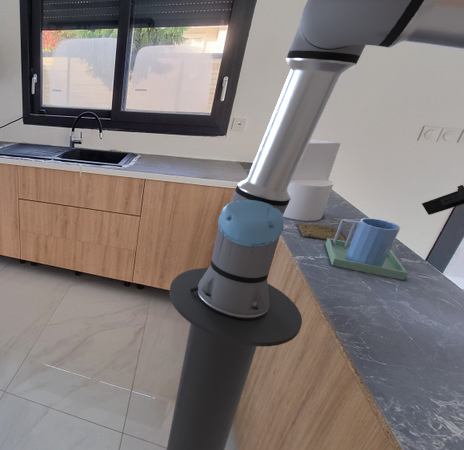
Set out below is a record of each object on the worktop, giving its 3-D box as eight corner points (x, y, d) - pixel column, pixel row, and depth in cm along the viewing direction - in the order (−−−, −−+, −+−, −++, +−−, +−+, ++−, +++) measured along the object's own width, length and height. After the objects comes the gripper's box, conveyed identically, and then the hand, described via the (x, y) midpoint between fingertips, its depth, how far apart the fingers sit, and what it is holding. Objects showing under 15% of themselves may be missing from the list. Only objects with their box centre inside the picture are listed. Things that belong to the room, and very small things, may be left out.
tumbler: (348, 263, 89) (363, 225, 84) (343, 252, 95) (357, 216, 91) (385, 271, 85) (404, 232, 80) (378, 258, 92) (395, 221, 87)
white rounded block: (262, 205, 136) (279, 140, 124) (303, 205, 135) (323, 139, 123) (286, 220, 120) (308, 147, 108) (332, 220, 119) (359, 147, 108)
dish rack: (331, 265, 90) (344, 233, 86) (325, 244, 102) (335, 215, 98) (403, 280, 83) (421, 246, 79) (387, 255, 94) (402, 225, 90)
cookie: (347, 243, 102) (348, 240, 101) (302, 236, 107) (303, 234, 107) (337, 229, 112) (338, 227, 111) (297, 223, 117) (297, 221, 116)
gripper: (588, 176, 45) (416, 227, 65) (687, 165, 50) (499, 216, 70) (552, 134, 48) (397, 195, 67) (650, 127, 53) (478, 187, 72)
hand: (448, 206), depth 69 cm, fingers open, 13 cm apart
